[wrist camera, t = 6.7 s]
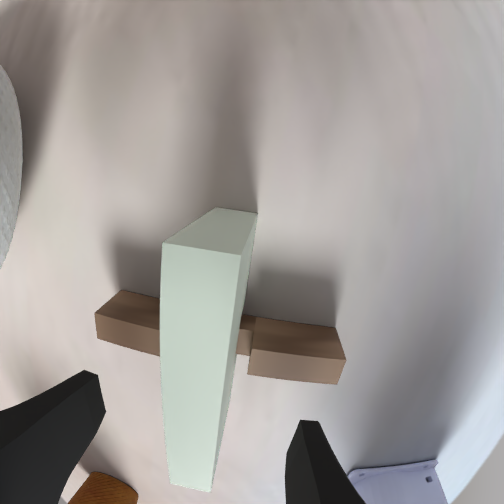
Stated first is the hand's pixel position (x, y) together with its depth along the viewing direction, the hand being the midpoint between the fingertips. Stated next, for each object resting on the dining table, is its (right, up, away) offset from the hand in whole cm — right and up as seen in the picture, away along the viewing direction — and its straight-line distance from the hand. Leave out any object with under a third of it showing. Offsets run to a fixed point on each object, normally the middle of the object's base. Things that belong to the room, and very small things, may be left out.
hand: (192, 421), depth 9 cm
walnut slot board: (0, +2, +7) cm, 7 cm away
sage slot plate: (0, +2, +7) cm, 7 cm away
